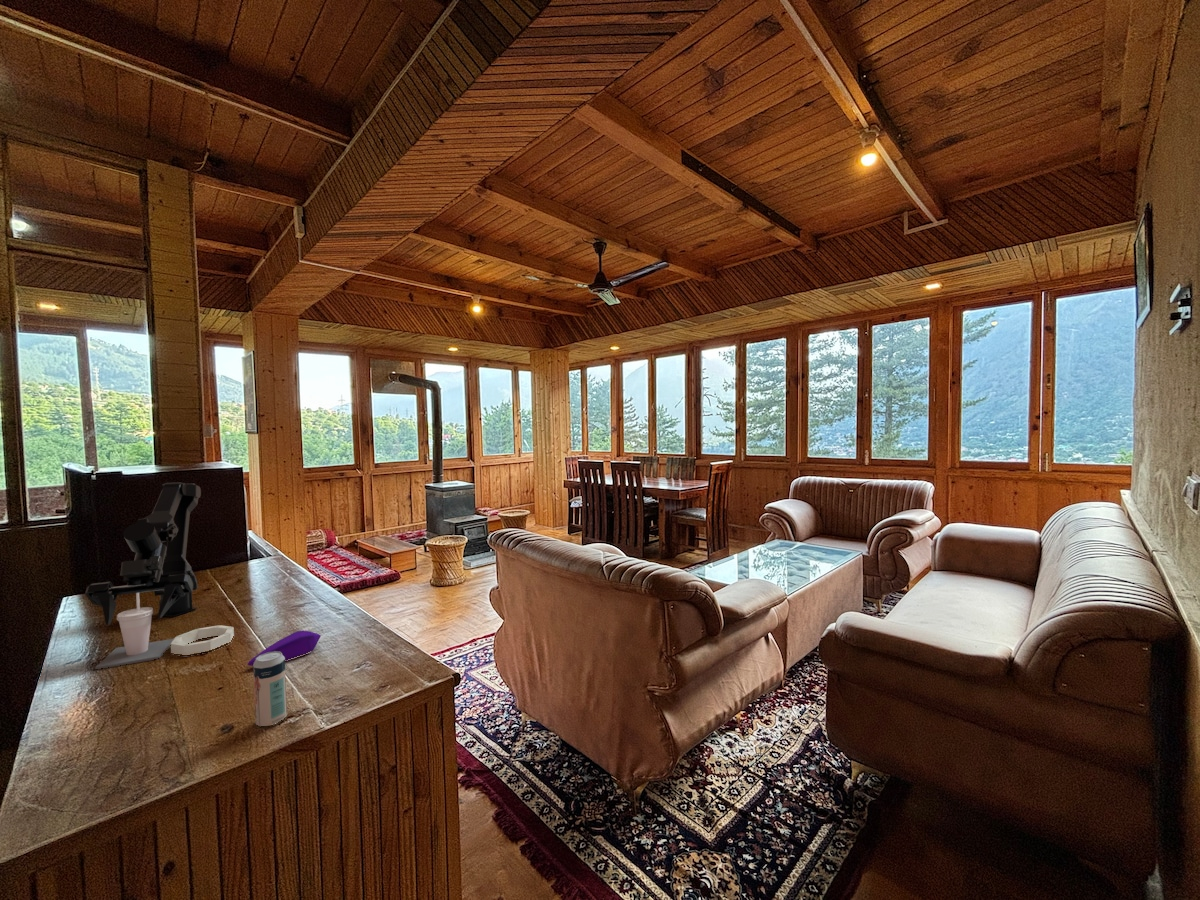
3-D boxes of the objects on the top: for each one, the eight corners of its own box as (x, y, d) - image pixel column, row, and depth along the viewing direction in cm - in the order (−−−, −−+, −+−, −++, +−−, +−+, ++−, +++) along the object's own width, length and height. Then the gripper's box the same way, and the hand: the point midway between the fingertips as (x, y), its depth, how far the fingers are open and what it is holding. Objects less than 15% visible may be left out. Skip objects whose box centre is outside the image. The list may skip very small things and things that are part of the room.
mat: (116, 650, 119) (116, 647, 119) (174, 640, 124) (174, 638, 124) (95, 669, 109) (95, 667, 109) (159, 658, 114) (159, 656, 114)
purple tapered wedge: (242, 651, 110) (315, 623, 121) (246, 671, 110) (318, 642, 121) (249, 657, 106) (323, 628, 118) (253, 678, 107) (326, 647, 118)
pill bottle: (265, 714, 91) (262, 650, 91) (292, 712, 92) (290, 649, 91) (249, 730, 87) (246, 663, 86) (278, 728, 87) (275, 661, 86)
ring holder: (211, 633, 129) (210, 623, 129) (243, 638, 125) (243, 628, 125) (161, 652, 118) (160, 642, 118) (195, 658, 114) (195, 647, 114)
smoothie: (155, 651, 117) (152, 593, 116) (117, 660, 112) (114, 600, 112) (155, 643, 121) (152, 587, 121) (119, 651, 117) (115, 593, 116)
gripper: (86, 550, 115) (64, 612, 106) (187, 541, 124) (176, 597, 114) (103, 574, 123) (84, 634, 113) (197, 564, 131) (187, 619, 122)
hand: (133, 621), depth 115 cm, fingers open, 9 cm apart
